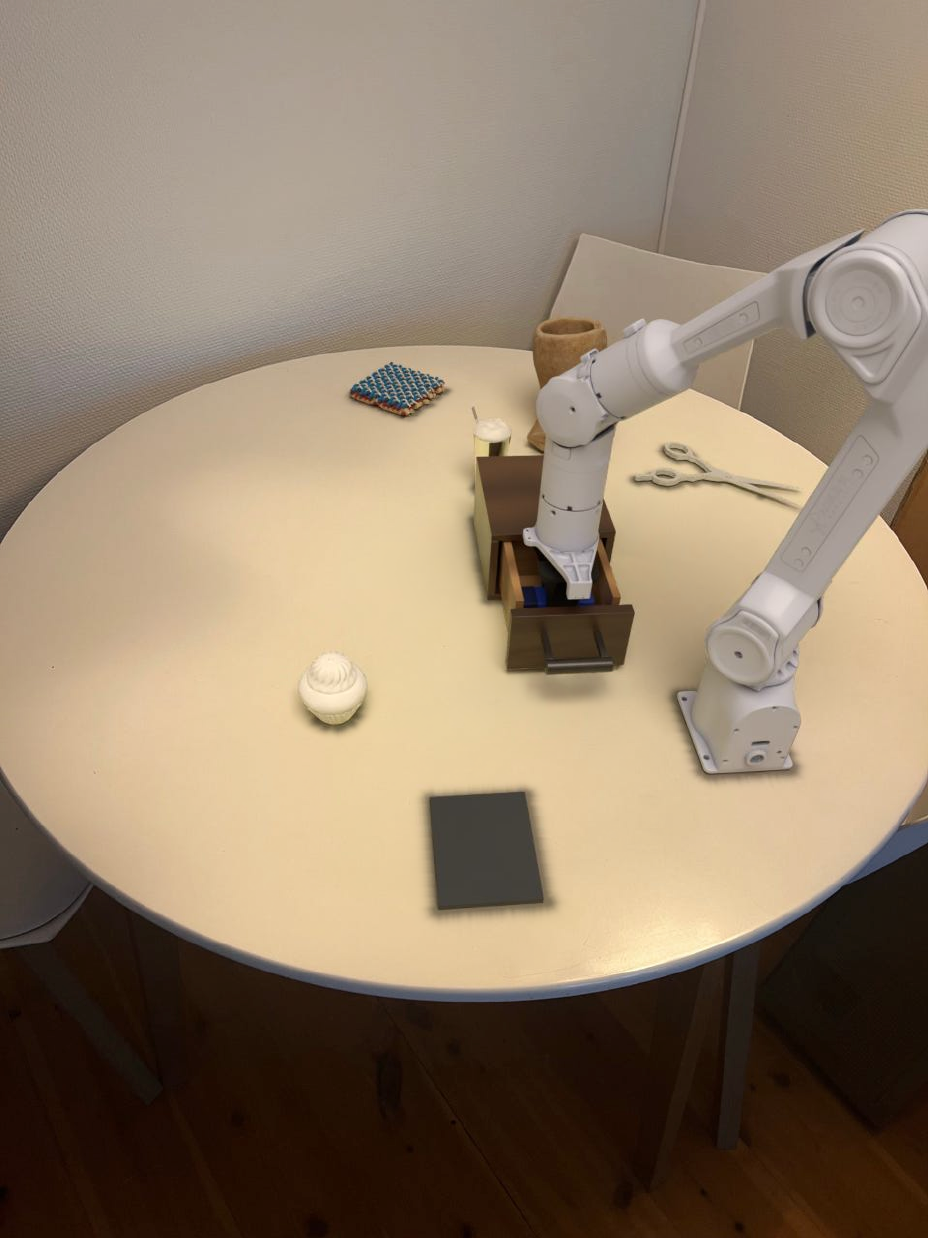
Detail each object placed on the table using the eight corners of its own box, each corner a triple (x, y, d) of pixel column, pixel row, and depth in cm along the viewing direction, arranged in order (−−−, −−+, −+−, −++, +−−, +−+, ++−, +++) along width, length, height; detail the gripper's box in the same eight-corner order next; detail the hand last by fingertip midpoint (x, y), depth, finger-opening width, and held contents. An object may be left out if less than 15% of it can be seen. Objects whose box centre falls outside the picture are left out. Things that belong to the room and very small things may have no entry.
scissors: (657, 436, 118) (810, 474, 112) (656, 442, 118) (808, 479, 112) (634, 475, 110) (797, 517, 104) (633, 481, 111) (795, 522, 105)
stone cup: (542, 401, 126) (552, 297, 116) (623, 420, 122) (640, 314, 112) (502, 451, 115) (510, 342, 105) (589, 473, 112) (606, 362, 102)
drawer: (635, 700, 82) (647, 648, 77) (513, 706, 81) (519, 653, 76) (595, 576, 95) (604, 525, 91) (490, 580, 94) (494, 528, 90)
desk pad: (543, 902, 67) (543, 898, 67) (438, 910, 66) (438, 906, 66) (524, 795, 75) (524, 791, 74) (429, 801, 74) (429, 796, 73)
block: (591, 621, 88) (595, 601, 86) (520, 624, 87) (522, 604, 86) (586, 604, 90) (589, 583, 88) (516, 606, 89) (518, 586, 88)
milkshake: (480, 471, 112) (484, 399, 105) (514, 487, 109) (520, 415, 102) (458, 486, 109) (460, 413, 102) (492, 503, 106) (496, 429, 100)
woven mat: (448, 390, 127) (449, 377, 126) (406, 420, 120) (406, 407, 119) (390, 371, 131) (389, 358, 130) (345, 399, 124) (345, 386, 123)
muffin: (372, 689, 83) (369, 635, 78) (364, 739, 79) (361, 685, 74) (307, 685, 83) (300, 631, 78) (295, 735, 79) (287, 681, 74)
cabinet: (604, 596, 94) (616, 531, 88) (487, 600, 93) (491, 535, 87) (578, 516, 105) (587, 453, 99) (473, 519, 104) (476, 456, 98)
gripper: (516, 451, 84) (507, 563, 93) (540, 543, 73) (527, 659, 83) (589, 449, 85) (573, 561, 94) (623, 541, 74) (601, 656, 83)
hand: (556, 607), depth 88 cm, fingers closed on block, 2 cm apart
